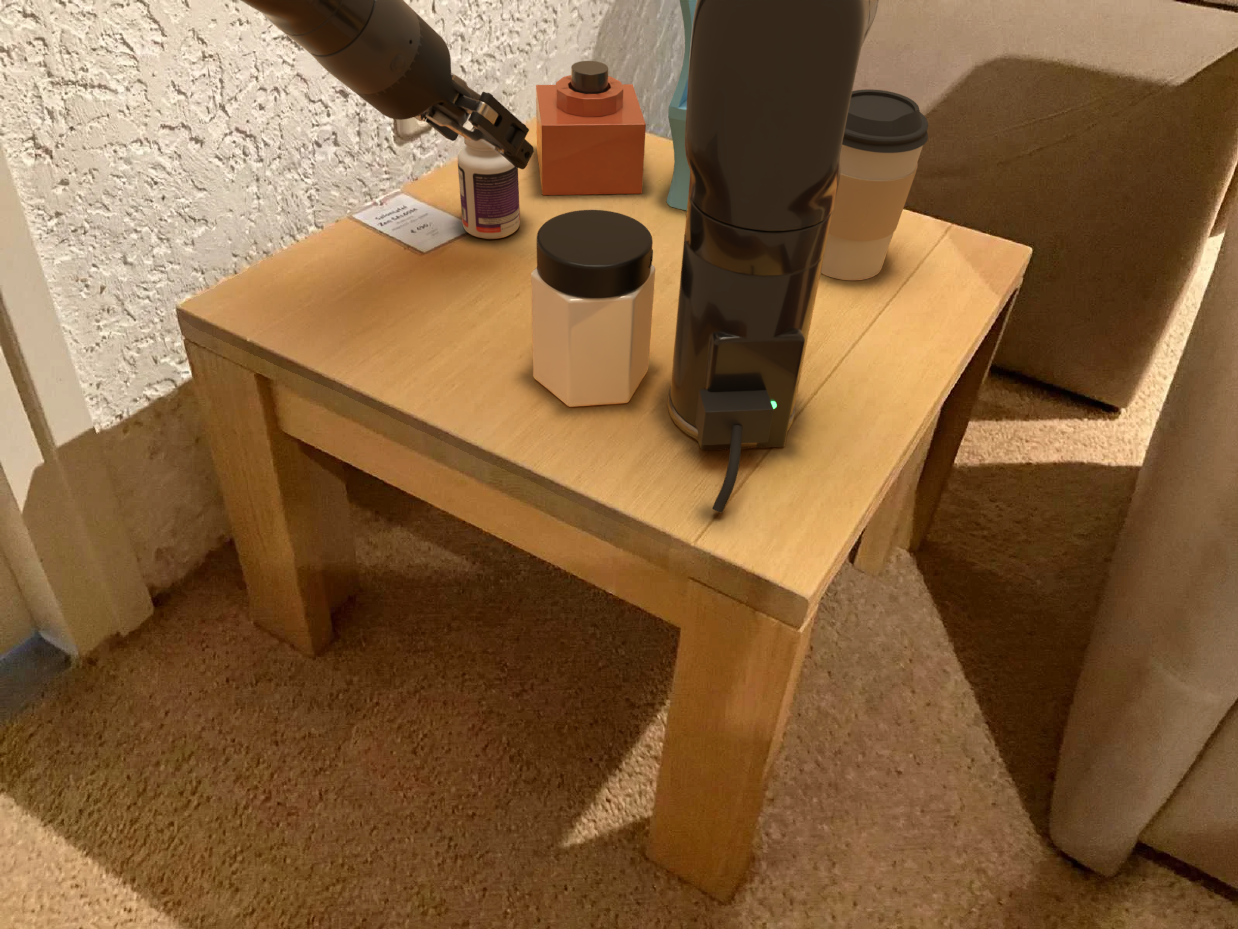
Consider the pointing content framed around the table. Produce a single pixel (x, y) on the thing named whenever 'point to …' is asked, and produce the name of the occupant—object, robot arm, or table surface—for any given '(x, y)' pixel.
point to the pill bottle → (487, 191)
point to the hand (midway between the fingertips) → (491, 144)
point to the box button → (589, 77)
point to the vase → (681, 119)
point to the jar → (592, 306)
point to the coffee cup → (872, 181)
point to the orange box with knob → (589, 139)
